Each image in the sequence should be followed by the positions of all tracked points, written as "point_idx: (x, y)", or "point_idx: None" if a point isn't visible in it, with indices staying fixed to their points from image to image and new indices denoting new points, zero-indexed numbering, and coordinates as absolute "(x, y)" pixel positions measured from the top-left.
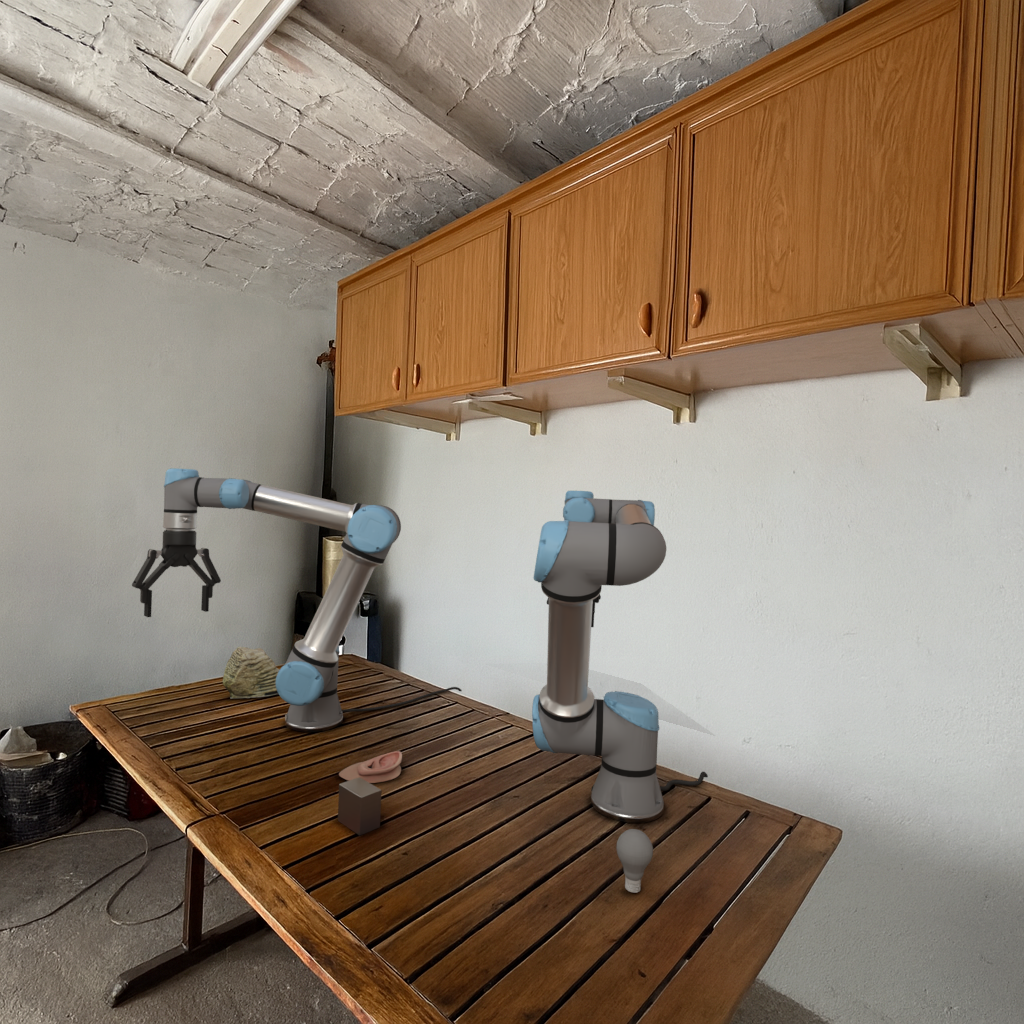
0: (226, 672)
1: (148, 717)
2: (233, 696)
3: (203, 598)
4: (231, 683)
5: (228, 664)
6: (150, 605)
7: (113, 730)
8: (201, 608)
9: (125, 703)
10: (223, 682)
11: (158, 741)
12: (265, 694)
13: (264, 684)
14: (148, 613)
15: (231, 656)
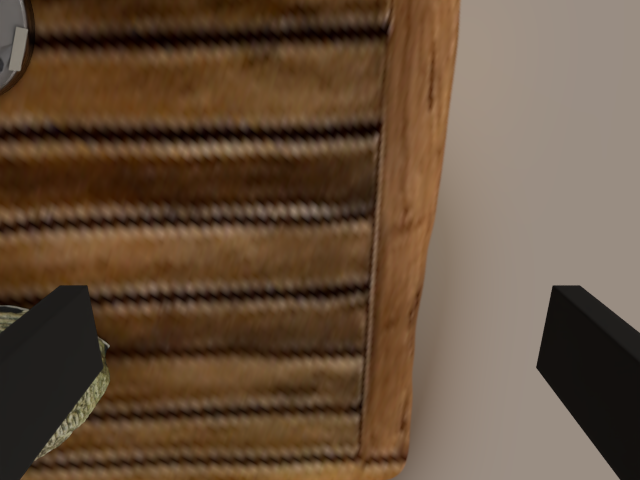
0: (84, 402)
1: (313, 332)
2: (100, 342)
3: (27, 414)
4: None
5: (64, 427)
6: (630, 342)
7: (401, 296)
8: (95, 375)
9: (321, 445)
10: (106, 381)
11: (351, 160)
12: (18, 311)
13: (2, 327)
14: (594, 302)
15: (40, 452)
